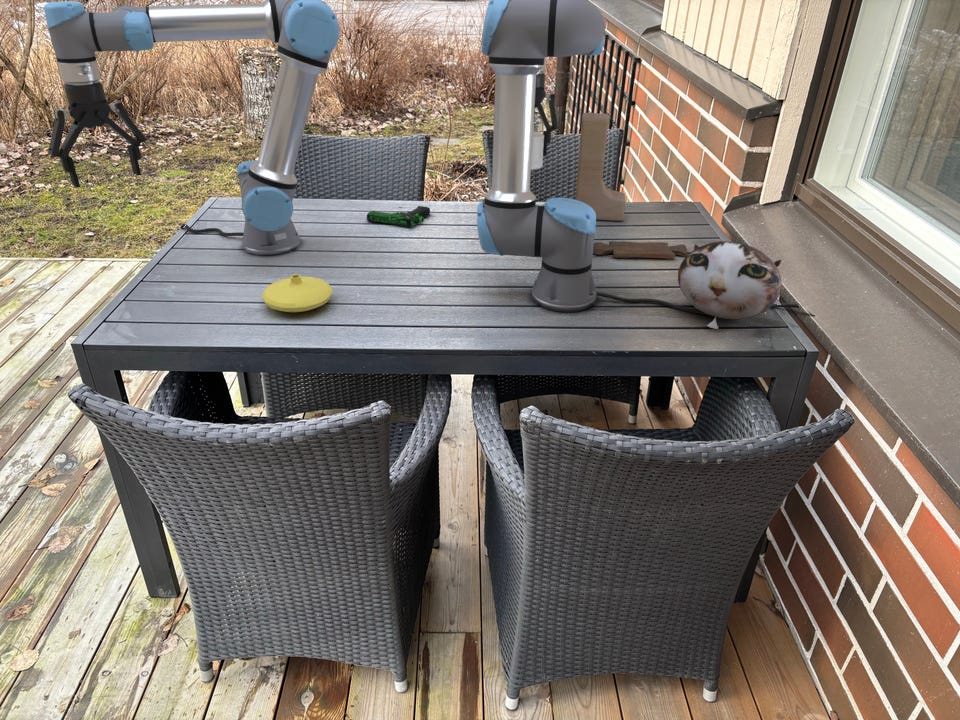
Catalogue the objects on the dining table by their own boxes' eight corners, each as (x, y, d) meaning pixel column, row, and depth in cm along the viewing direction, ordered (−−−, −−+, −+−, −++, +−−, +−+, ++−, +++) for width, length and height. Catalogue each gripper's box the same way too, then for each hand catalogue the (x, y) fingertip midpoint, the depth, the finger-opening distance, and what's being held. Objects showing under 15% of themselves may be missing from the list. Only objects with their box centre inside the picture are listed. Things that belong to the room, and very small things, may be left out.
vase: (301, 284, 175) (298, 257, 172) (347, 301, 167) (345, 273, 164) (249, 307, 164) (244, 278, 160) (296, 326, 156) (292, 297, 153)
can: (534, 171, 204) (536, 139, 199) (506, 166, 207) (507, 136, 203) (547, 164, 210) (549, 133, 206) (520, 160, 214) (521, 130, 210)
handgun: (435, 206, 218) (413, 220, 206) (436, 216, 220) (413, 230, 208) (389, 200, 224) (364, 213, 212) (389, 209, 225) (365, 223, 213)
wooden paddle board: (691, 261, 192) (683, 247, 200) (692, 255, 191) (684, 241, 199) (595, 258, 192) (591, 244, 200) (595, 252, 191) (591, 238, 200)
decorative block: (623, 221, 217) (635, 120, 201) (573, 219, 218) (582, 117, 203) (622, 213, 223) (634, 114, 208) (574, 210, 225) (582, 112, 209)
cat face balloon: (655, 305, 156) (684, 221, 158) (671, 327, 172) (697, 250, 173) (760, 330, 146) (790, 239, 147) (766, 351, 161) (793, 268, 163)
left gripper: (24, 91, 143) (54, 195, 154) (147, 78, 159) (167, 172, 169) (12, 86, 148) (43, 187, 159) (133, 73, 163) (154, 166, 174)
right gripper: (567, 70, 200) (561, 151, 212) (490, 70, 198) (488, 152, 209) (573, 74, 194) (567, 157, 205) (494, 74, 192) (492, 158, 203)
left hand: (107, 180), depth 164 cm, fingers open, 13 cm apart
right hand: (527, 154), depth 207 cm, fingers closed on can, 9 cm apart
